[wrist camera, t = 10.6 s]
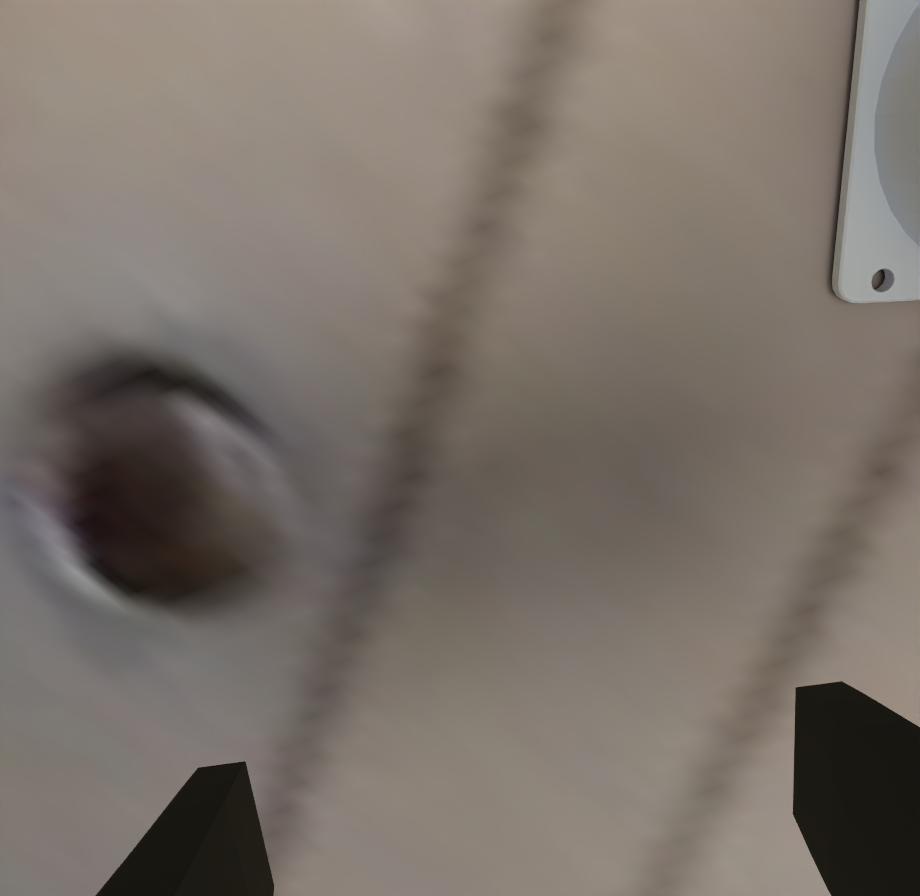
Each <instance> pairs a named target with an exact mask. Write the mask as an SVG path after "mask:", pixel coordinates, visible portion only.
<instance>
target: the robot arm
mask: <svg viewBox="0 0 920 896" xmlns="http://www.w3.org/2000/svg"><path fill="white" fill-rule="evenodd" d="M881 269H882V270H883V271H884V272H885V279H884V282H883V284H882V285H881V286H880V287H879V288H877V289H873V288H872V284H871V280H872V277H873V275H874V274H875V273H876V272H877V271H878V270H881ZM832 286H833V290H834V292H835V294H836V296H838V297H839V298H841V299H842V300H844V301H847V302H851V303H857V304H858V303H876V302H895V301H914V300H920V0H860V3H859V13H858V23H857V34H856V44H855V54H854V64H853V74H852V84H851V94H850V104H849V114H848V124H847V134H846V144H845V155H844V165H843V175H842V185H841V195H840V205H839V215H838V225H837V235H836V245H835V255H834V265H833V275H832ZM793 815H794V817H795V819H796V822H797V824H798V826H799V828H800V831H801V833H802V835H803V837H804V840H805V842H806V844H807V846H808V849H809V851H810V853H811V855H812V857H813V859H814V861H815V864H816V866H817V868H818V870H819V872H820V874H821V876H822V878H823V880H824V882H825V884H826V886H827V889H828V891H829V892H830V894H831V896H920V727H918V726H917V725H915V724H913V723H912V722H910V721H908V720H907V719H905V718H903V717H902V716H900V715H898V714H897V713H895V712H893V711H892V710H890V709H888V708H887V707H885V706H884V705H882V704H880V703H879V702H877V701H875V700H874V699H872V698H870V697H868V696H867V695H865V694H863V693H862V692H860V691H858V690H856V689H855V688H853V687H851V686H849V685H847V684H845V683H844V682H842V681H841V682H834V683H826V684H819V685H812V686H804V687H797V688H796V702H795V748H794V793H793ZM273 893H274V883H273V879H272V874H271V870H270V866H269V861H268V857H267V853H266V849H265V844H264V840H263V836H262V831H261V827H260V823H259V818H258V814H257V810H256V805H255V801H254V797H253V792H252V788H251V784H250V779H249V775H248V771H247V766H246V762H238V763H230V764H223V765H215V766H208V767H201V768H198V769H197V770H196V771H195V772H194V774H193V775H192V776H191V777H190V778H189V780H188V781H187V782H186V783H185V785H184V786H183V787H182V788H181V789H180V791H179V792H178V793H177V794H176V796H175V797H174V798H173V800H172V801H171V802H170V803H169V805H168V806H167V807H166V809H165V810H164V811H163V812H162V814H161V815H160V816H159V817H158V819H157V820H156V821H155V823H154V824H153V825H152V826H151V828H150V829H149V830H148V832H147V833H146V834H145V835H144V837H143V838H142V839H141V840H140V842H139V843H138V844H137V845H136V847H135V848H134V849H133V851H132V852H131V853H130V854H129V856H128V857H127V858H126V859H125V860H124V862H123V863H122V864H121V865H120V867H119V868H118V869H117V870H116V871H115V873H114V874H113V875H112V876H111V877H110V879H109V880H108V881H107V882H106V884H105V885H104V886H103V887H102V888H101V890H100V891H99V892H98V893H97V895H96V896H273Z"/></svg>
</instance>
